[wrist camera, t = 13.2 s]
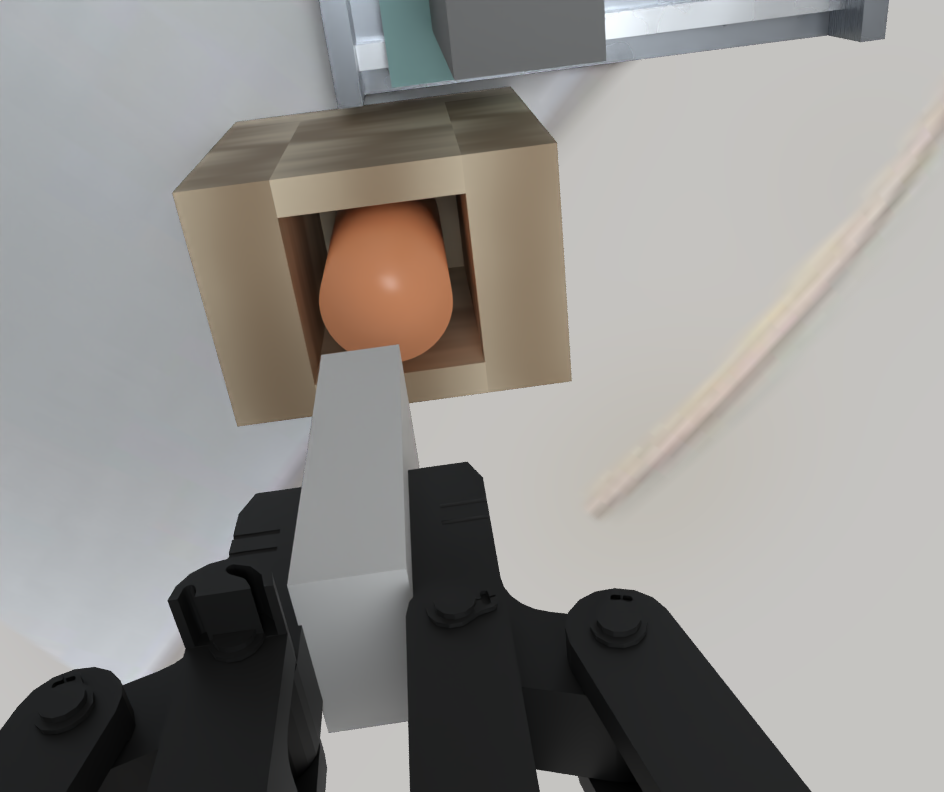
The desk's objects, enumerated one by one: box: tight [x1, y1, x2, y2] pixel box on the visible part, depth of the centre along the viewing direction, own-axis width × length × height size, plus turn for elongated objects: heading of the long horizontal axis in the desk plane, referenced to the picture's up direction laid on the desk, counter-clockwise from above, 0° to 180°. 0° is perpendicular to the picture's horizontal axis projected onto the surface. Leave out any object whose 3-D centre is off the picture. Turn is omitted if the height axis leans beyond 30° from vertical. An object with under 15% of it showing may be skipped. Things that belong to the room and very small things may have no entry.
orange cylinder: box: [319, 198, 453, 361], centre depth 27 cm, size 4×4×8 cm
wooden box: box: [172, 87, 572, 426], centre depth 28 cm, size 10×7×10 cm
